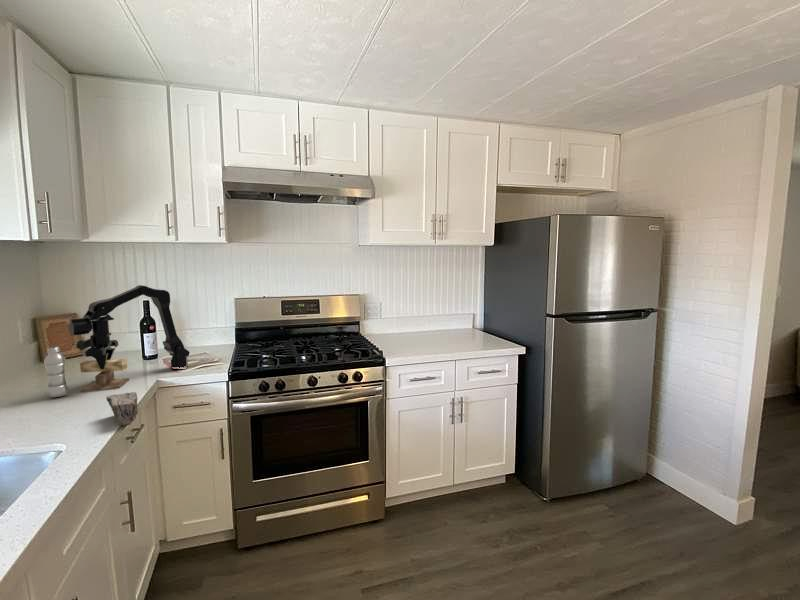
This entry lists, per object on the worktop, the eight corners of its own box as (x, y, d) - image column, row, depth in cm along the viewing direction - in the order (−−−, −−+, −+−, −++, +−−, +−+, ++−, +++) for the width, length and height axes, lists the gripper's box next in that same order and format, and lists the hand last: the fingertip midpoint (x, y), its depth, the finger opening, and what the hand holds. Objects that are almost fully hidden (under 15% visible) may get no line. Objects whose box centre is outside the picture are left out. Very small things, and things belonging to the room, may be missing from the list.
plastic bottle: (47, 396, 167) (41, 347, 165) (68, 392, 172) (63, 344, 169) (47, 400, 162) (41, 350, 160) (69, 396, 167) (64, 347, 164)
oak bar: (127, 367, 182) (126, 359, 182) (122, 370, 179) (121, 361, 178) (86, 369, 180) (85, 360, 179) (80, 372, 176) (79, 363, 176)
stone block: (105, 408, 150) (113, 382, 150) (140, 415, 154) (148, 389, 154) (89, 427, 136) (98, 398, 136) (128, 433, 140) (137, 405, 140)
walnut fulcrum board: (129, 380, 188) (128, 366, 187) (119, 388, 176) (118, 374, 176) (92, 382, 184) (91, 369, 183) (80, 391, 172) (79, 377, 172)
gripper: (88, 328, 184) (91, 363, 186) (67, 337, 166) (71, 375, 168) (117, 327, 187) (120, 361, 189) (100, 335, 169) (104, 373, 171)
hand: (104, 367), depth 179 cm, fingers closed on oak bar, 4 cm apart
